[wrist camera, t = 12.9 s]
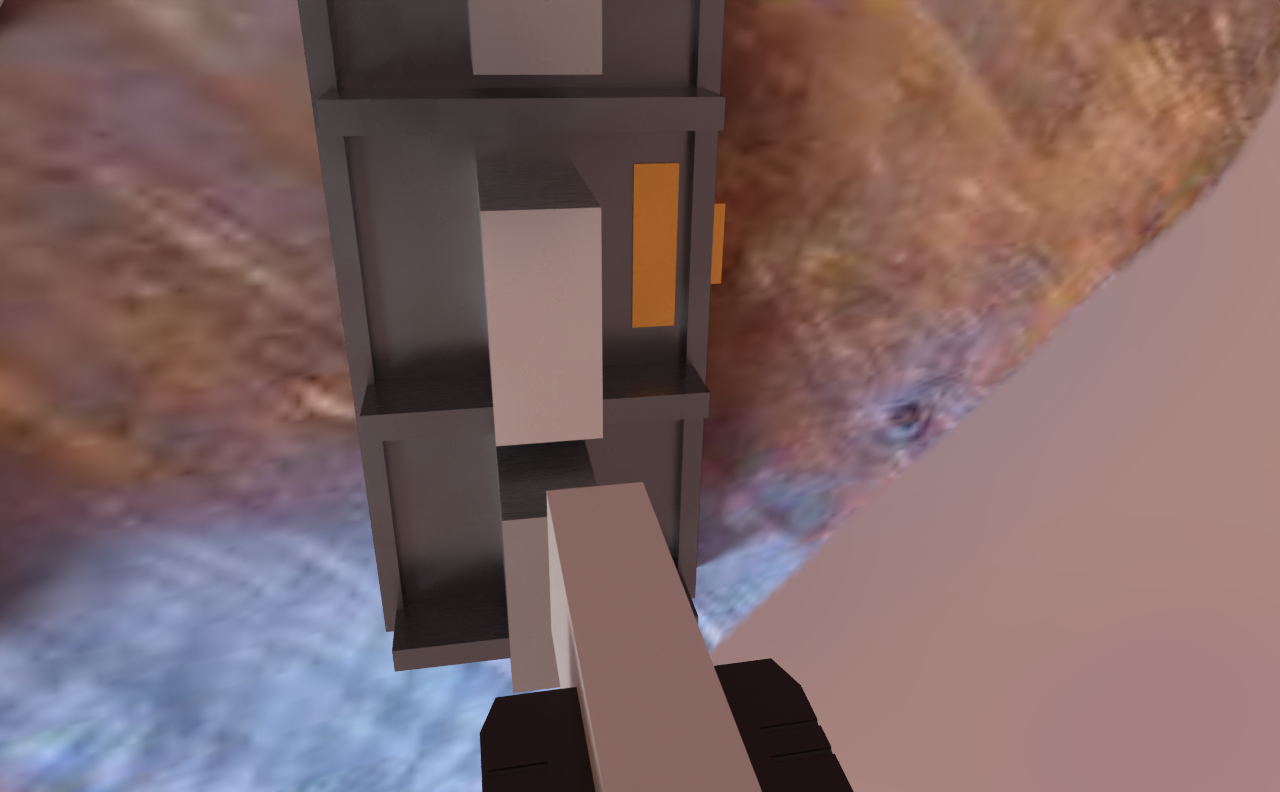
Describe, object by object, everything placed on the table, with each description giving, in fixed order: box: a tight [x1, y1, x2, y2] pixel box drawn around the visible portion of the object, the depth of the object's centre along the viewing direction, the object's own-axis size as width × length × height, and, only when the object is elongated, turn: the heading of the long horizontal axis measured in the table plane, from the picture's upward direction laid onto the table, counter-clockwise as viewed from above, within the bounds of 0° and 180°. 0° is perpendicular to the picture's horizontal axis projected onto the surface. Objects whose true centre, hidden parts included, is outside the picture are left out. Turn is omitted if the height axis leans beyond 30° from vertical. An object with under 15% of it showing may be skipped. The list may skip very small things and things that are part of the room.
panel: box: [476, 161, 603, 446], centre depth 28 cm, size 7×3×7 cm, turn 179°
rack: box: [298, 0, 725, 693], centre depth 28 cm, size 31×14×8 cm, turn 179°
